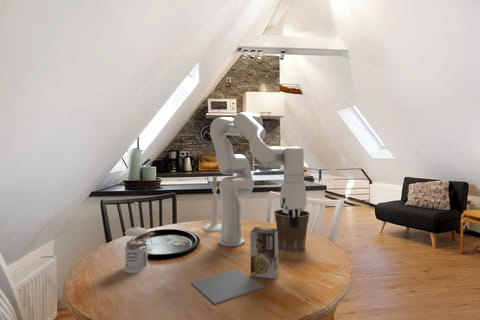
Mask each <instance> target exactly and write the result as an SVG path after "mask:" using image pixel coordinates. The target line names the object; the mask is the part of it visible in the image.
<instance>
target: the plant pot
mask: <svg viewBox="0 0 480 320" xmlns="http://www.w3.org/2000/svg"><path fill="white" fill-rule="evenodd" d="M291 212H292V211H291ZM273 214H274V221H275V223H276V224H275V225H276V229H278V249H280V250H282V251H285V252H296V251H297V252H301V251H304V250H305V248H306V240H307V230H308V224H309V218H310V215H311V212H309V211H306V210H303V211H301V213H300V216H299V217H298V218H299V227H296V228H293V227H290V217H289V216H288V214H287V213H283V209H282V208H281V209H277V210H274V211H273Z"/></svg>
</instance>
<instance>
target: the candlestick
mask: <svg viewBox="0 0 480 320" xmlns="http://www.w3.org/2000/svg"><path fill="white" fill-rule="evenodd" d="M217 178H218V177H217V176H216V175H213V176H212V187H211V190H212V192H213V194H212V205H211V206H212V208H211V211H212V212H211V223H208V224H205V225H204V227H203V231H204V230H205V231H204V232H207V231H208V233H220V232H221V231H222V223H219V217H218V216H219V215H218V199H217V198H218V197H217V196H218V194H217V192H218V189H219V188H218V187H217Z"/></svg>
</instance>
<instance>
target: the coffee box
mask: <svg viewBox="0 0 480 320" xmlns="http://www.w3.org/2000/svg"><path fill="white" fill-rule="evenodd" d="M249 235H250V237H249V238H250V241H249V242H250V244H249V245H250V277H258V278H265V279H273V280H275V279H277V276H278V274H279V247H278V229H277V228H270V227H260V226H259V227H258V226H256V227H255V226H254V228H252V230H250V232H249Z"/></svg>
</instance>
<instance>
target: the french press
mask: <svg viewBox="0 0 480 320" xmlns="http://www.w3.org/2000/svg"><path fill="white" fill-rule="evenodd" d="M132 206H135V207H134V208H135V209H137V206H139V202H137V201H135V202H133V204H132ZM147 232H148V230H147V229H146V228H144V227H140V226H134V227H131V228H129V229H127V230H125V232H124V234H125V236H129V237H135V239H132V240H129V241H126V244H125V245H126V246H125V249H124V250H125V251H124V253H125V265H124V266H123V268H122V271H123V272H125V273H128V274H135V273H136V274H138V273H141V272H144V271H146V270H149V269H150V266H151V265H150V263H149V262H148V256H149V255H150V254H151V253H152V251H153V248H151V249H150V248H148V245H150V243H151V245H153V242H152V239H151V238H150V236H149V235H146V236H144V235H145V234H147ZM142 235H143V237H142V239H140V238H138V237H137V236H142ZM148 239H149V241H150V243H149V241H148Z"/></svg>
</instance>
